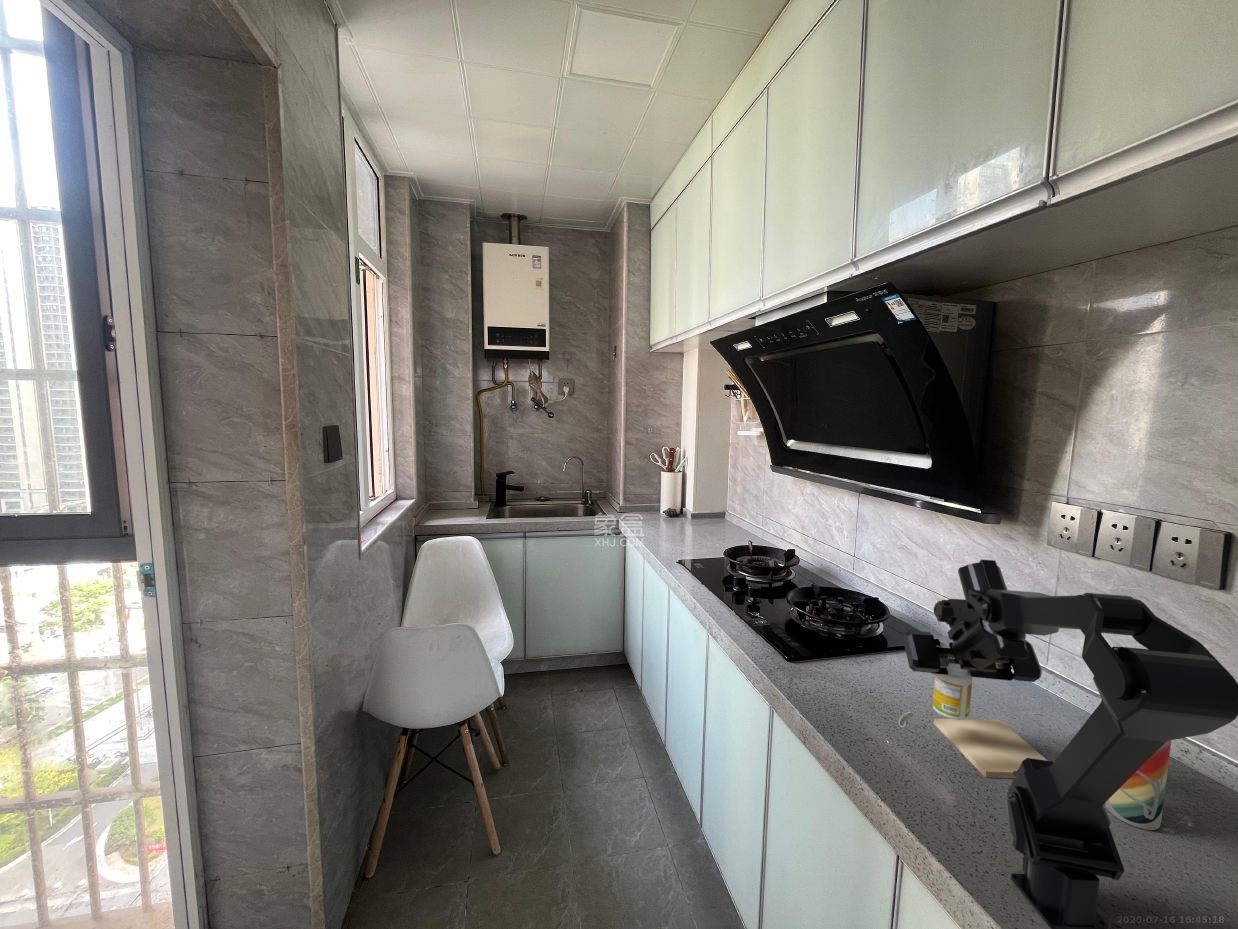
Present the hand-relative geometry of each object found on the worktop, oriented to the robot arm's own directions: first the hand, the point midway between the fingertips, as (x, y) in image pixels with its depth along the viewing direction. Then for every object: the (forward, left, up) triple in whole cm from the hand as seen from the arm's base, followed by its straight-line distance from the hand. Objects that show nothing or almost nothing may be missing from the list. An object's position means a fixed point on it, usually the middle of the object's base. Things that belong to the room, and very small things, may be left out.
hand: (950, 672), depth 89 cm
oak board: (-3, -6, -12) cm, 14 cm away
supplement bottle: (-1, 0, -7) cm, 7 cm away
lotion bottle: (-17, -16, -12) cm, 27 cm away
